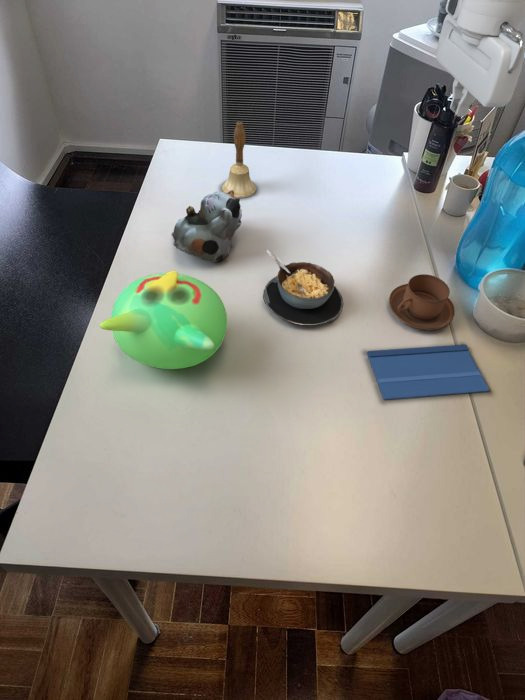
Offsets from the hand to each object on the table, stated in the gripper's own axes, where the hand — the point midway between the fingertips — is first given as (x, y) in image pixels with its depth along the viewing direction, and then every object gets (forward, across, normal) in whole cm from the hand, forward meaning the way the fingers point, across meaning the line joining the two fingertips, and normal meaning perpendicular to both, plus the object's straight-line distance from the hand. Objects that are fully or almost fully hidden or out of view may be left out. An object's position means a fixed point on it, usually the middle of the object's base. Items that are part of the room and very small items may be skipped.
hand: (457, 112), depth 78 cm
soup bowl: (+29, -12, +26) cm, 41 cm away
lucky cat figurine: (+29, +6, +43) cm, 52 cm away
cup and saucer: (+29, -17, +4) cm, 34 cm away
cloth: (+29, -31, +8) cm, 43 cm away
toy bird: (+29, -23, +50) cm, 62 cm away
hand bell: (+29, +28, +34) cm, 53 cm away
